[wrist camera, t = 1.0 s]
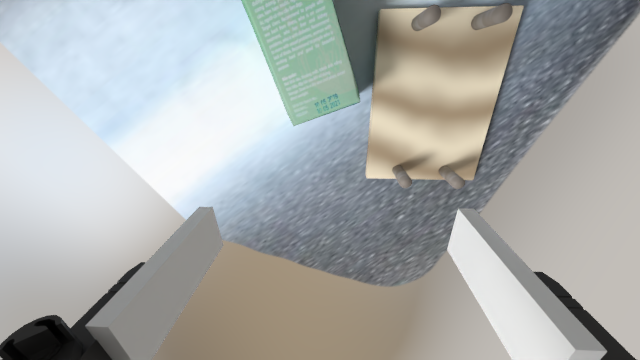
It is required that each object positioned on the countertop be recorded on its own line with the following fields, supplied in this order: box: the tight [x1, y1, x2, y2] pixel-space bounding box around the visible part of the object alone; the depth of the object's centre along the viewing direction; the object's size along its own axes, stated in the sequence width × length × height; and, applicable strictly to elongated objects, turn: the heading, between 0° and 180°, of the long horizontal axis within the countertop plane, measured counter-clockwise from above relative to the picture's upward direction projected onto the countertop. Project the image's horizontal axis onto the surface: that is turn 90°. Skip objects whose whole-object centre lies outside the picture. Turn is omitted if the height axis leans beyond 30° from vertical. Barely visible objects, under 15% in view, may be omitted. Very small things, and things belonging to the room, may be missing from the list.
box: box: [241, 0, 360, 126], centre depth 24 cm, size 7×14×8 cm, turn 21°
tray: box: [366, 3, 524, 189], centre depth 26 cm, size 19×14×5 cm
